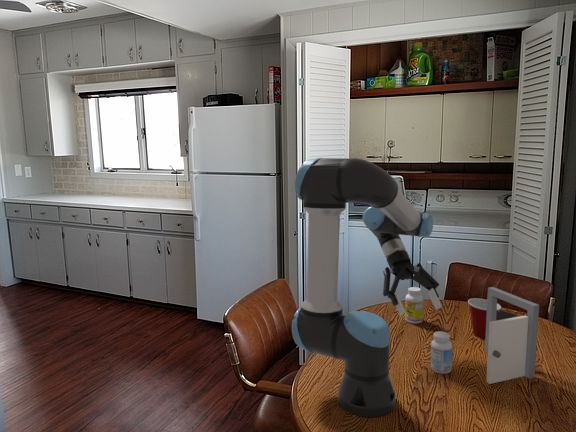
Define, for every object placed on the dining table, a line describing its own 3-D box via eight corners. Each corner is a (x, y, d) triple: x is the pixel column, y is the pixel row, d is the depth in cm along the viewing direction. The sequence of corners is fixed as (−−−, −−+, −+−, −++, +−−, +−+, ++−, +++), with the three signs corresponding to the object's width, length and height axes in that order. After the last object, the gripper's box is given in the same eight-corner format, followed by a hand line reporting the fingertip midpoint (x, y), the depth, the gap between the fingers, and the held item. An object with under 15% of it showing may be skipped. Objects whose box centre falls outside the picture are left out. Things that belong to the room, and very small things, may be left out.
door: (521, 373, 130) (525, 315, 128) (528, 377, 128) (532, 318, 125) (486, 381, 127) (489, 321, 124) (492, 386, 124) (496, 325, 121)
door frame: (528, 378, 129) (533, 306, 125) (484, 352, 145) (487, 287, 142) (534, 377, 129) (539, 305, 126) (489, 351, 146) (493, 286, 142)
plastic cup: (503, 342, 152) (505, 309, 150) (469, 340, 154) (471, 307, 152) (495, 329, 162) (496, 298, 160) (463, 328, 164) (465, 296, 163)
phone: (476, 317, 172) (499, 309, 180) (476, 320, 172) (499, 312, 180) (495, 324, 165) (518, 315, 173) (495, 327, 165) (518, 318, 173)
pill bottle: (448, 364, 138) (450, 330, 136) (453, 374, 132) (454, 339, 130) (428, 364, 139) (429, 329, 137) (432, 374, 133) (433, 338, 131)
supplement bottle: (401, 318, 175) (402, 287, 172) (416, 316, 176) (417, 285, 174) (411, 325, 168) (411, 292, 166) (426, 322, 170) (427, 290, 168)
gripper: (422, 256, 161) (447, 310, 150) (360, 264, 154) (382, 321, 142) (431, 245, 156) (459, 300, 144) (367, 252, 148) (391, 311, 136)
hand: (421, 311), depth 143 cm, fingers open, 13 cm apart
